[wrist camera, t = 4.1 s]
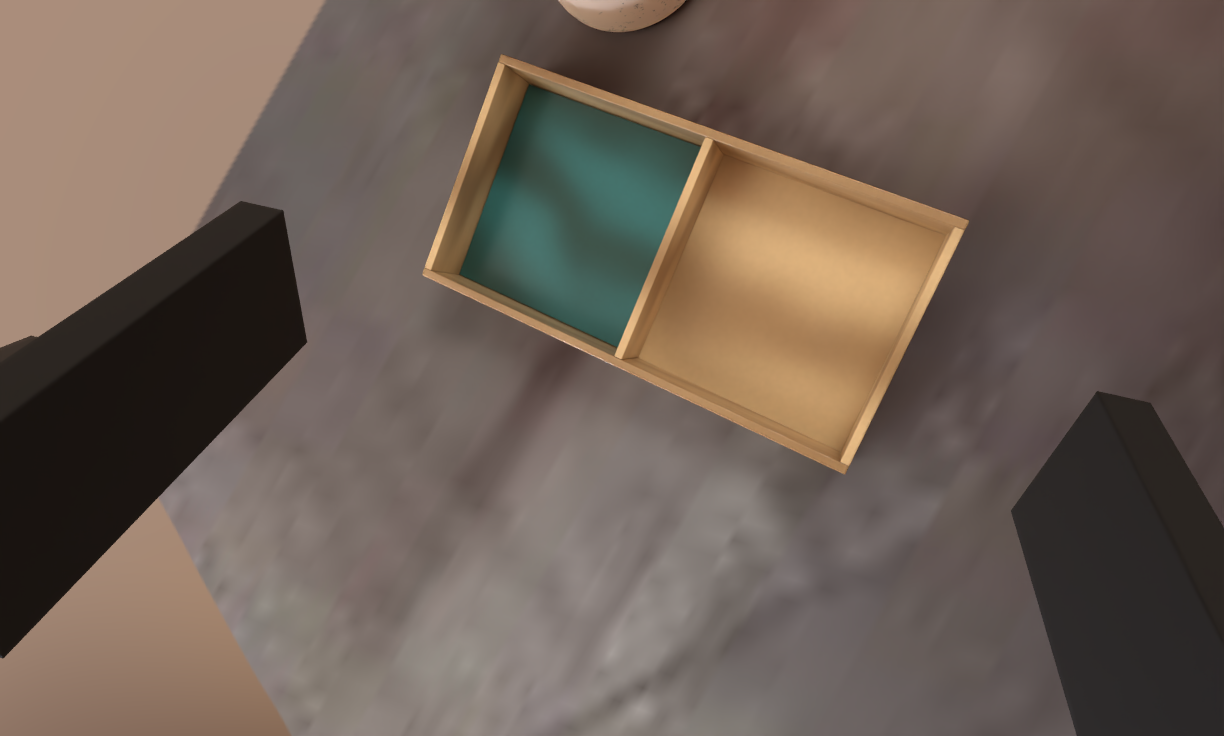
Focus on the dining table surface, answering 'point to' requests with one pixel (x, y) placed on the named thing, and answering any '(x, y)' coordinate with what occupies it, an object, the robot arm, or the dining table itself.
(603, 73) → the dining table surface
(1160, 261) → the dining table surface
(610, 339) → the organizer
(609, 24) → the teacup with lid
